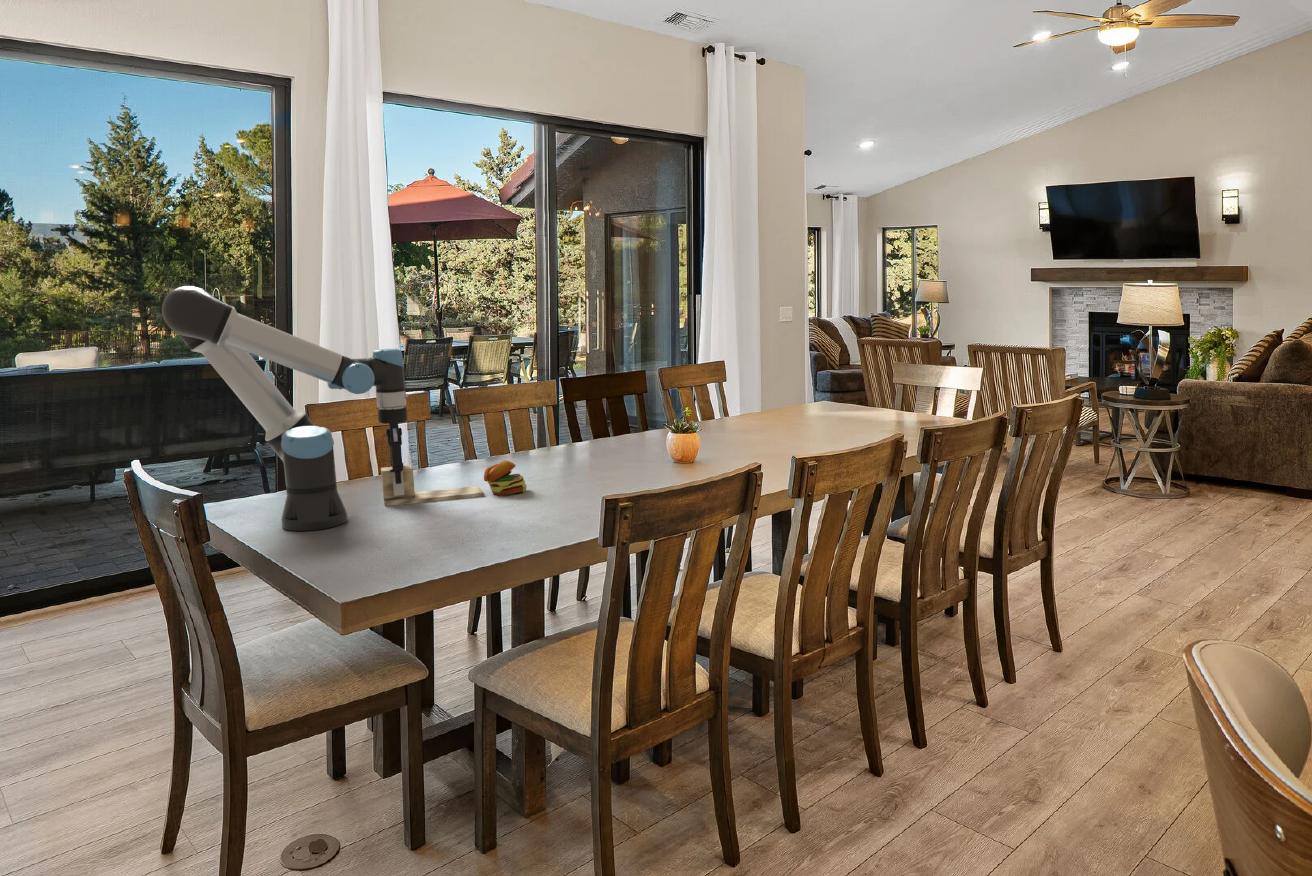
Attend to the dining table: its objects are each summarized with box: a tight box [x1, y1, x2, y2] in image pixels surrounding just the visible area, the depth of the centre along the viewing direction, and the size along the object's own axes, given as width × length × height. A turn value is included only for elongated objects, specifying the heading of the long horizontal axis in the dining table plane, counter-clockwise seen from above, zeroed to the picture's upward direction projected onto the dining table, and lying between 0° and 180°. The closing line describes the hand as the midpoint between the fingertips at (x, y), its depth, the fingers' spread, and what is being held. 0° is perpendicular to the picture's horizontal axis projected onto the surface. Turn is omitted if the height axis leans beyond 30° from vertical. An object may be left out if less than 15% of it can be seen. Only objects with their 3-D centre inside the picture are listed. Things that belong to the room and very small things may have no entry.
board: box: [382, 485, 485, 507], centre depth 251 cm, size 26×9×1 cm, turn 108°
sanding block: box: [380, 464, 416, 502], centre depth 248 cm, size 8×5×8 cm, turn 108°
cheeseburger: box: [483, 459, 528, 496], centre depth 254 cm, size 10×11×10 cm
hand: (398, 492), depth 248 cm, fingers closed on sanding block, 5 cm apart
